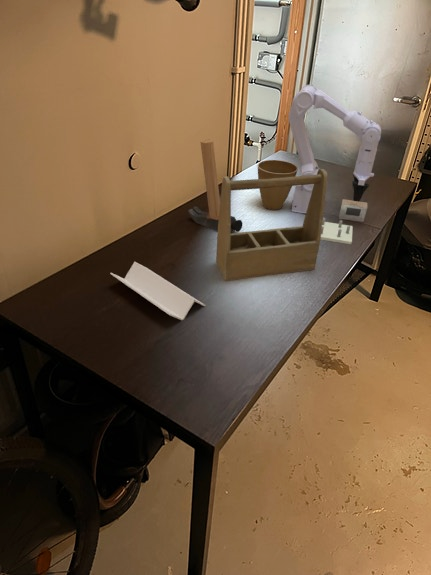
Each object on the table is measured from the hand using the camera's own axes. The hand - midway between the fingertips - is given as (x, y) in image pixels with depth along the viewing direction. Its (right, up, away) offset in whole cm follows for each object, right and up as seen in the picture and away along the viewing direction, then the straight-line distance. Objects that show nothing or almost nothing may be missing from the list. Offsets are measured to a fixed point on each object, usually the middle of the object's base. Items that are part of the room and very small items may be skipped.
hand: (356, 196), depth 157 cm
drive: (0, -7, +5) cm, 9 cm away
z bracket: (-68, -36, -38) cm, 86 cm away
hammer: (-52, -12, -4) cm, 54 cm away
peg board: (-11, -14, -5) cm, 19 cm away
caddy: (-36, -27, -24) cm, 51 cm away
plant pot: (-29, -1, +11) cm, 31 cm away
